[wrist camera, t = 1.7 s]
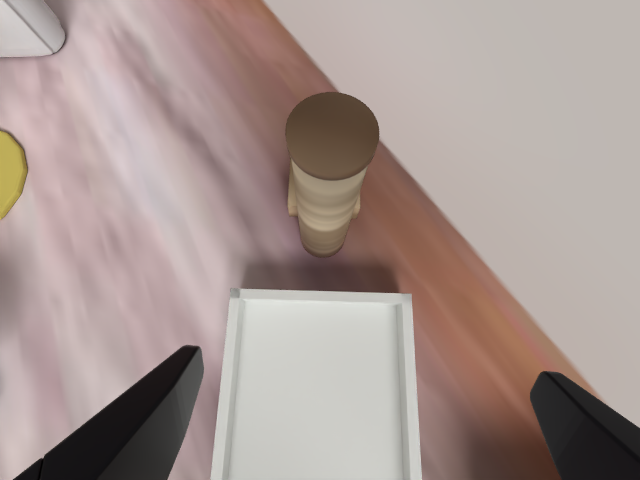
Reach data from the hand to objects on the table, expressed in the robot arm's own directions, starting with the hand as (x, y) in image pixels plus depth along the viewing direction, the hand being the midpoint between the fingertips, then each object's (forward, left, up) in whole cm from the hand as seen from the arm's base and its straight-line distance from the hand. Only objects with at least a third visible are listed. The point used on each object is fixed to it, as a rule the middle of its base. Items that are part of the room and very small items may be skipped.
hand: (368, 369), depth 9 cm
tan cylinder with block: (-4, +10, -13) cm, 17 cm away
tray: (0, -3, -13) cm, 14 cm away
